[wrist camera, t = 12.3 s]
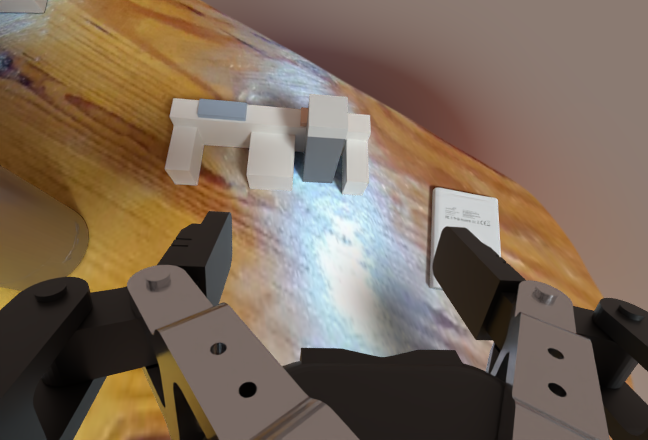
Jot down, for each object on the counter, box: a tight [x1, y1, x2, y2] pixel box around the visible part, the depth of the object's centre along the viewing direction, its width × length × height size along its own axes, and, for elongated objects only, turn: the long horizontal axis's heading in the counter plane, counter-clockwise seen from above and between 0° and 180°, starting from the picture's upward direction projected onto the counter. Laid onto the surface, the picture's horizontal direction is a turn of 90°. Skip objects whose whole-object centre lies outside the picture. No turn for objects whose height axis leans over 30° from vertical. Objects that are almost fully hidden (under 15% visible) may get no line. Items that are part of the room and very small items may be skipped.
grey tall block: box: [303, 94, 348, 183], centre depth 35 cm, size 4×4×11 cm
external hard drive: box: [429, 188, 501, 290], centre depth 39 cm, size 2×8×12 cm
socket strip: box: [165, 98, 371, 196], centre depth 37 cm, size 22×8×6 cm, turn 89°
